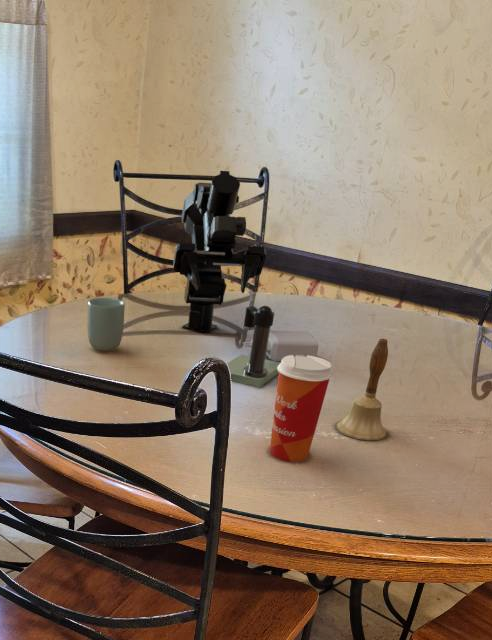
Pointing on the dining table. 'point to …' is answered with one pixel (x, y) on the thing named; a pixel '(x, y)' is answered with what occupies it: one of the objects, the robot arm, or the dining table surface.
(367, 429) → the hand bell
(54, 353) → the dining table surface
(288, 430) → the coffee cup
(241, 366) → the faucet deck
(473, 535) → the dining table surface
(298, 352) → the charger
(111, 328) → the cup
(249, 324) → the spout
